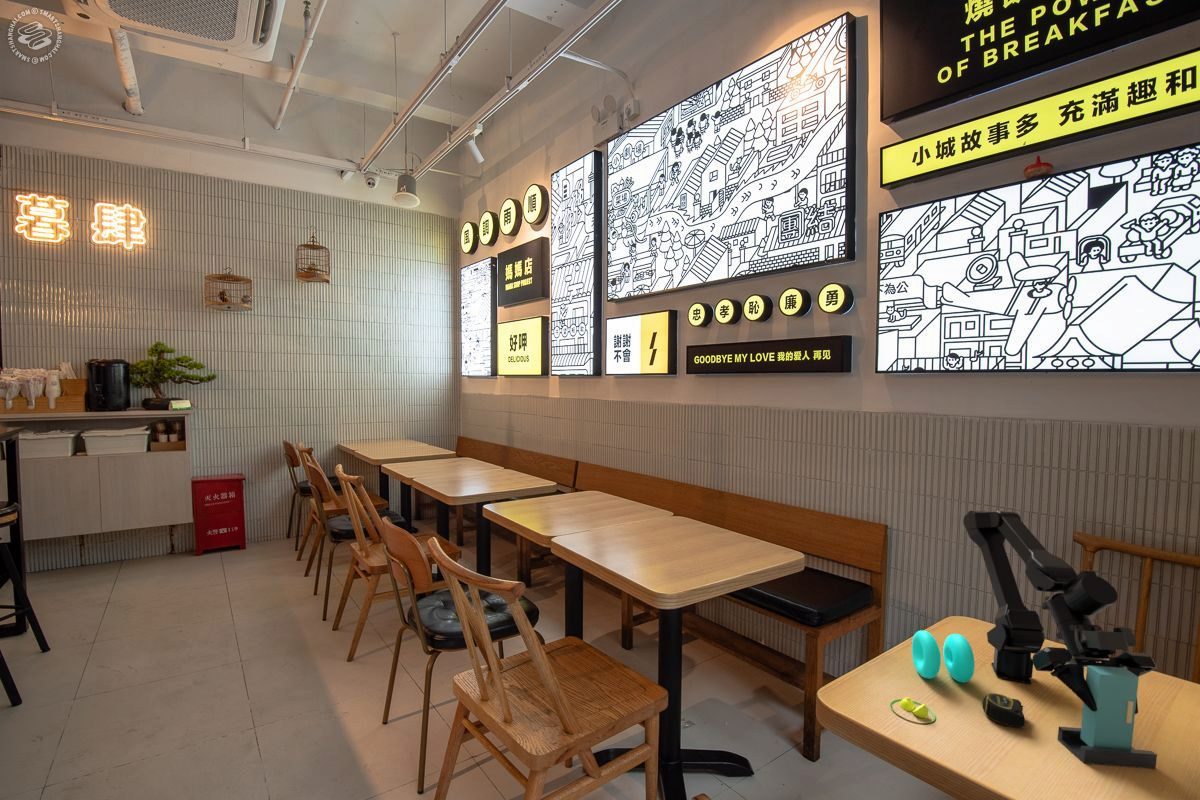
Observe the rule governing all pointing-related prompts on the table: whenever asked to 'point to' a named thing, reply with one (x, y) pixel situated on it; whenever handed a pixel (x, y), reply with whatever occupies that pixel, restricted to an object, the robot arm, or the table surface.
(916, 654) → the donuts
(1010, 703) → the tape measure
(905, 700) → the lemon
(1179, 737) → the table surface
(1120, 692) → the door panel
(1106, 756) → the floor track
